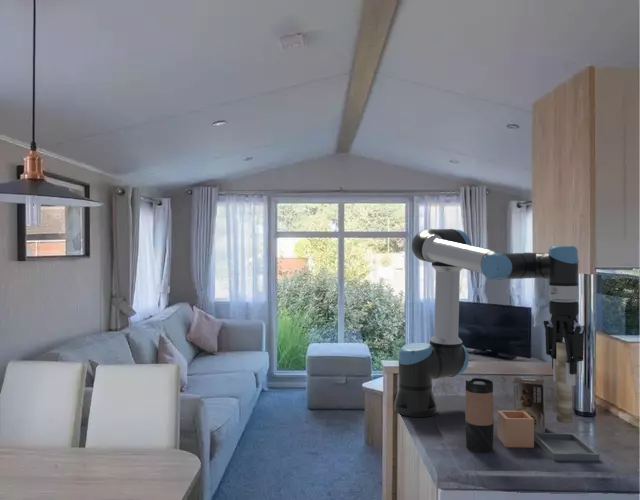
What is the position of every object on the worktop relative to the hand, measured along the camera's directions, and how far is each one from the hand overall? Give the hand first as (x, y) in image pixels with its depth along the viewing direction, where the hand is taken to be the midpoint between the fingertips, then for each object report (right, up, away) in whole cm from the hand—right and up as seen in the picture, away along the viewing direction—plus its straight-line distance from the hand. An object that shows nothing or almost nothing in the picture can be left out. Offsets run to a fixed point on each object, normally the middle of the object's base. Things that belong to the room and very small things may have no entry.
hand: (564, 383), depth 150 cm
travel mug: (-24, -20, +1) cm, 31 cm away
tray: (0, -20, 0) cm, 20 cm away
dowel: (0, -11, 0) cm, 11 cm away
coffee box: (-3, -20, +17) cm, 27 cm away
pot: (-12, -20, +6) cm, 24 cm away
